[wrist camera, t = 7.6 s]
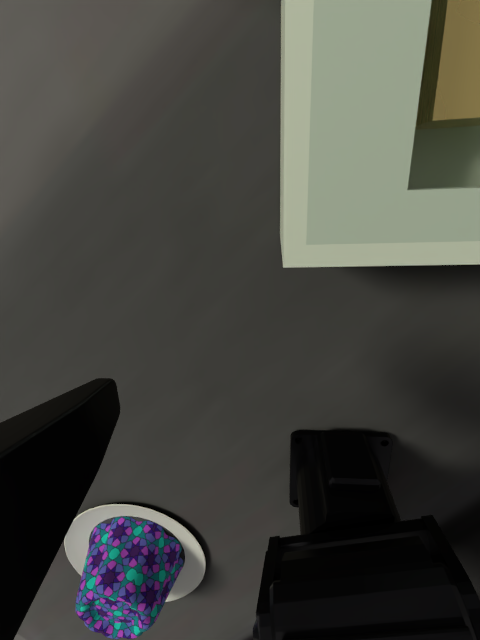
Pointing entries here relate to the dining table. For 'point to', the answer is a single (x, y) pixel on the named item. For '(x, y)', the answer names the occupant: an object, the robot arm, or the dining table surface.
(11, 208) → the dining table surface
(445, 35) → the khaki wooden block
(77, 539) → the pudding
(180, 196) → the dining table surface
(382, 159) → the open box
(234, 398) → the dining table surface
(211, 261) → the dining table surface
